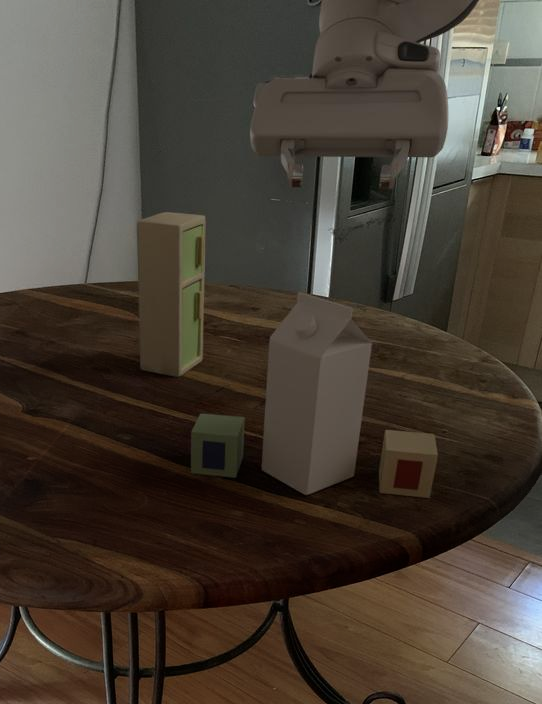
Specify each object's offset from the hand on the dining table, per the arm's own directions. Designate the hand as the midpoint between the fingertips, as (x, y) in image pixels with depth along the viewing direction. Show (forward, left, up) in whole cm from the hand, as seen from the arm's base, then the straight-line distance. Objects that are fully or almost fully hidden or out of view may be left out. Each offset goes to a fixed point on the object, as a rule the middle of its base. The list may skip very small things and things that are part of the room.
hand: (339, 184), depth 76 cm
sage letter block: (+10, +12, -28) cm, 32 cm away
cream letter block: (-10, +12, -28) cm, 32 cm away
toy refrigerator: (+22, -18, -28) cm, 40 cm away
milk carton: (0, +12, -28) cm, 31 cm away
